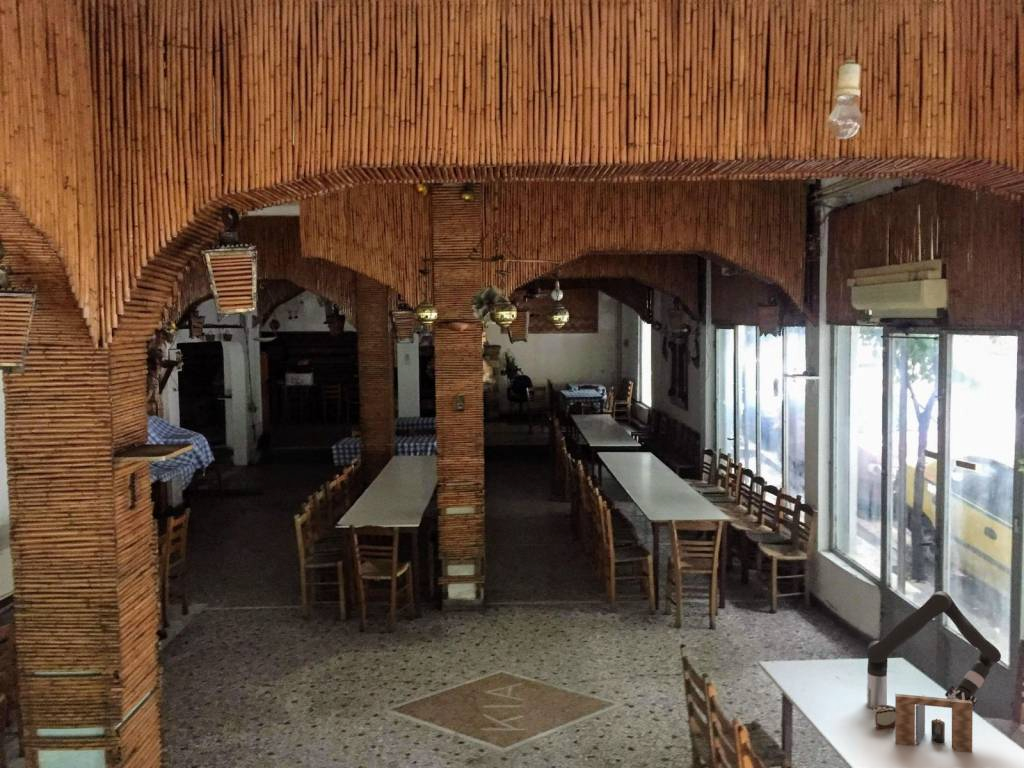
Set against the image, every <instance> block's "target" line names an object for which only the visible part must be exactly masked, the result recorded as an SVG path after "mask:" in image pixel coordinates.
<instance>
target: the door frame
mask: <svg viewBox="0 0 1024 768" xmlns="http://www.w3.org/2000/svg"><path fill="white" fill-rule="evenodd" d="M894 703H895V706H894V707H895V731H894V734H895V736H894V737H895V738H894V741H895V745H902V746H908V747H909V746H911V747H916V746H915V745H916V705H925V707H926V706H927V707H928V706H929V707H940V708H951V749H952V751H956V752H965V753H966V752H967V753H973V709H974V707H973V703H972V701H970V700H969V701H968V700H958V699H947V697H945V698H944V697H934V696H926V695H924V696H922V695H914V694H913V695H912V694H901V693H895V702H894Z"/></svg>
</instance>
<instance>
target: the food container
mask: <svg viewBox="0 0 1024 768" xmlns="http://www.w3.org/2000/svg"><path fill="white" fill-rule="evenodd" d="M872 713H873V715H874V720H875V729H876V730H877V732H879V731H886V730H894V729H895V706H892V705H889V704H887V705H877V706H875V707H874V708H873V710H872Z"/></svg>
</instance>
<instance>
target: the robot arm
mask: <svg viewBox="0 0 1024 768" xmlns="http://www.w3.org/2000/svg"><path fill="white" fill-rule="evenodd" d="M943 613H944V614H945V615H946V616H947V617H948V618H949V619H950V620H951V622H953V624H954V625H955V627H956V628H957V630H958V632H959V633H960V634H961V635H962V636H963V638H964V639H965V640H966V641H967V642H968V643H969V644H970V646H971V647H973V648H974V649H977V650H978V651H979V652H980V654H979V655H978V657H977V659H976V662H975V663H974V664H973V665H972V667H970V669H969V670H968V672H967V673H966V674H965V676H964V677H963V678H962V680H960V682H959V684H958V687H957V688H956V687H955V686H954V685H951V686H950V687H949V689H947V691H946V692H945V694H944V695H945V698H946V699H957V700H968V701H972V703H973V708H974V706H975V705H976V704H977V702H978V699H977V697H976V696H975V695H976V694H977V693H978V691H979V690H980V688H981V687H982V685H983V683H984V681H985V680H986V679H987V677H988V676H989V674H990V669H991V668H992V667H993V666H994V665H995V664H996V663H998V662H1000V661H1001V659H1002V655H1001V652H1000V651H999V649H998V648H997V647H996V646H995V645H994V644H993V643H991V642H990V641H988V639H987V638H986V637H984V636H983V634H981V633H980V631H979V630H978V629H977V628H976V627H975V626H974V625H973V623H971V622H970V621H969V620H968V618H967V617H966V616H965V615H964V614H963V612H961V610H960V608H959V607H958V606H957V605H956V603H955V602H954V600H953V598H952V597H951V596H950V595H949V594H948V593H947V592H945V591H943V590H941V591H940V590H938V591H936V592H934V593H933V594H932V595H931V596H930V597H929V598H928V600H927V601H925V603H924V604H923V605H921V606H920V607H919V608H918V609H915V610H914V611H912V612H911V613H909V614H908V615H906V616H904V617H903V618H902V619H901V620H900V621H898V622H897V623H895V624H894V626H893V627H892V628H891V630H890V631H888V633H887V634H886V636H884V637H883V638H882V639H881V640H873V641H871V642H870V643H869V644H868V647H867V650H866V656H867V679H866V681H867V684H866V703H867V704H866V705H867V707H868V708H871V709H874V707H875V706H877V705H888V657H889V656H890V655H891V654H892V653H893V652H894V651H895V650H897V649H898V648H899V647H901V646H902V645H903V644H906V642H908V641H909V640H911V639H912V638H913V637H915V636H916V635H917V634H918V633H920V632H921V630H923V629H924V628H925V627H926V626H927V625H928V624H929V623H930V622H931V621H933V619H935V618H936V617H938V616H939V615H941V614H943Z"/></svg>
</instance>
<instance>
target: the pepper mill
mask: <svg viewBox="0 0 1024 768" xmlns="http://www.w3.org/2000/svg"><path fill="white" fill-rule="evenodd" d="M945 725H946V722H944V721H943V720H941V719H940V718H938V717H937V718H935V719H932V720H931V728H930V729H931V731H930V732H931V736H930V737H931V739H930V740H931V742H933V743H934V744H938V745H941V744H942V745H943V744H945V742H946V741H945V739H946V732H945V729H946V727H945Z"/></svg>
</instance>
